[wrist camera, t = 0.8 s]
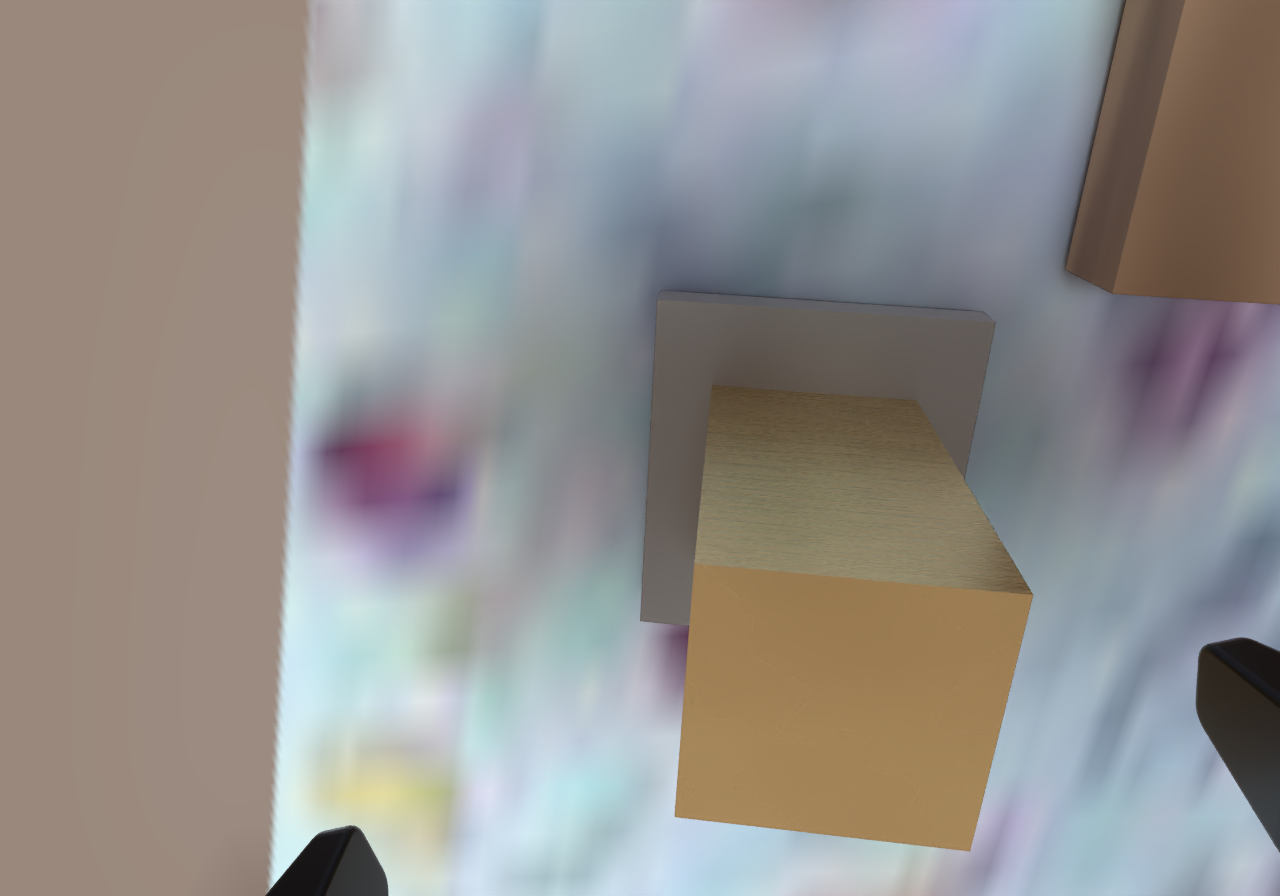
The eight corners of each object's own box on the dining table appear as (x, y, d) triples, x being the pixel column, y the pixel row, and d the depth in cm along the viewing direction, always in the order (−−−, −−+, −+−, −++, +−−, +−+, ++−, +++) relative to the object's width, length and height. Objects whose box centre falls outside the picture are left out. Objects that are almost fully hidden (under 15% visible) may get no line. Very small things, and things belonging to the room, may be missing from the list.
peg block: (916, 400, 19) (1033, 595, 11) (886, 579, 20) (969, 850, 13) (711, 385, 19) (694, 563, 12) (698, 561, 21) (674, 817, 13)
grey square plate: (982, 311, 19) (995, 322, 18) (921, 626, 22) (930, 649, 21) (661, 290, 19) (657, 299, 18) (644, 600, 22) (640, 620, 21)
